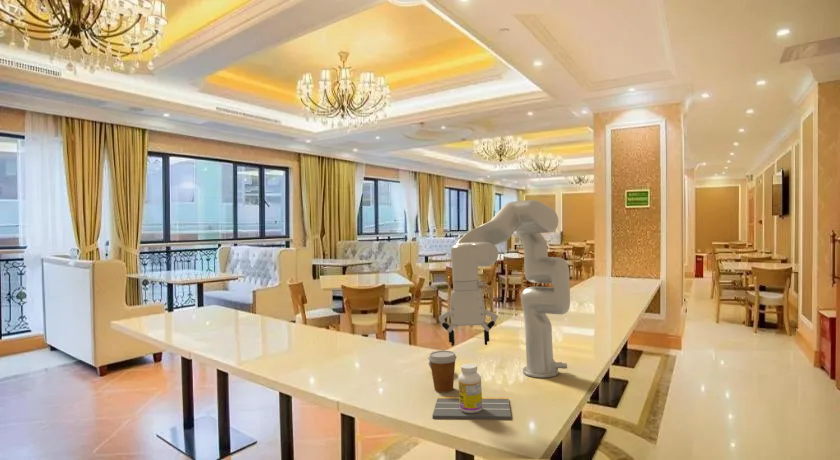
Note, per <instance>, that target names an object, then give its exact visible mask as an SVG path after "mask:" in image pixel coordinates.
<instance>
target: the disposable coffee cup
mask: <svg viewBox="0 0 840 460" xmlns="http://www.w3.org/2000/svg"><path fill="white" fill-rule="evenodd" d="M434 351H435V350H434ZM428 360H429V361H430V364H431V368H430V370H431V375H432V380H433V381H432V382H433V388H434V391H435V390H436V391H435V392H437V391H438V393H449V392H452V391H453V390H454V383H455V382H454V381H455V371H456V370H455V369H456V360H457V356H456V353H455V352H454V351H451V350H436V351H435V352H430V353H429V357H428ZM429 361H428V362H429ZM451 390H452V391H451ZM448 391H449V392H448Z"/></svg>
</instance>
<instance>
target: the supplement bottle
mask: <svg viewBox="0 0 840 460" xmlns="http://www.w3.org/2000/svg"><path fill="white" fill-rule="evenodd" d="M460 370H461V373H460V374H459V375H458V397H459V404H460V409H461V411H463V412H465V413H477V412H479V411H481V410H482V397H483V394H482V393H483V392H482V376H481V374H480V373H479V372H477V371H478V366H477V364H475V363H469V362H468V363H464V364H461V365H460Z"/></svg>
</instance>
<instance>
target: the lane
mask: <svg viewBox="0 0 840 460" xmlns="http://www.w3.org/2000/svg"><path fill="white" fill-rule="evenodd" d="M509 401H510V400H509V397H507V396H501V397H499V396H482V410H481V411H479V412H477V413H465V412H463V411H461V409H460V404H459V396H437V399H436V403H435V406H434V409H433V413H432V419H452V420H453V419H454V420H455V419H458V420H461V419H464V420H512V416H511V407H510V402H509Z"/></svg>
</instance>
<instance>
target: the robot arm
mask: <svg viewBox="0 0 840 460" xmlns="http://www.w3.org/2000/svg"><path fill="white" fill-rule="evenodd" d="M558 226H559V217H558V214H557V212H556V211H555V210H554V209H553V208H552V207H550V206H548V205H546V204H545V203H543V202H540V201H538V200H535V199H526V200H516V201H510V202H507V203H505V204H504V205H502V207H501V208H500V209H499V210H498V212H497V213H496V214H495V215H494V216H493V217H492V218H491V219H490V220H489V221H488V222H485V223H483V224H481V225H479V226H477V227H475V228H474V229H471V230H470V231H468V232H466V233H465V234H463V235H462V237H461V238H459V239H458V241H457V242H456V243H455V244H454V245H453V246H451V248H450V254H451V256H450V257H451V270H452V271H451V272H452V275H451V276H452V289H453V290H451V291H450V297H449V298H450V299H449V301H450V302H449V305H450V306H449V310H448V311H446V312H444V313H442V314H441V315H439V316H438V322H439V323H440V324H441V326H442V327H443V329H445V330H446V331H447V332H448V342H449V343H451V347H454V346H455V340H456V339H455V330H454V328H455V327H457V326H459V327H463V326H481V328H483V339H484V345H485V346H488V342H490V330H491V329H492V328H493V327H494V326H495V324H496V322H497V319H498V317H499V316H498V314H497V313H495V312H493V311H490V310H488V309H486V306H485V300H484V294H483V290H482V289H481V287H484V286H485V285H484V283H485V282H484V281H480V280H479V270H478V269H479V268H480V267H485V268H486V267H490V266H493V265H494V264H495V263H496V262H497V261H498V259H499V250H498V248H497V246H496V245H499V244H503V243H504V242H507V241H508V240H509V239H510V238H511V237H512V235H514V233H516V234H517V235H518V236H519V238H520V240H521V242H522V246H523V259H524V260H523V262H524V263H523V264H524V266H523V267H524V268H523V269H524V278H525V279H526V281H528V282H530V283H535V284H552V286H551V287H550V286H529V287H526V288H524V289H523V290H522V291H521V294H520V303H521V308H522V312H523V317H524V318H523V319H524V332H525V333H524V334H525V352H526V366H525V367H523V368H522V374H523V375H526V376H528V377H532V378H540V379H541V378H553V377H556V376H557V375H559V369H562V370H563V369H565V370H566V369H568V363H567V362H562V361H555V360H554V349H553V347H554V346H553V331H552V330H553V327H552V322H551V321H550V318H549V317H548V316H547V314H548V315H549V314H550V315H565V314H567V313H568V311H569V310H570V305H571V283H570V280H571V279H570V278H571V277H570V268H569V264H568V262H567V261H566V259H564V258H562V257H558V256H554V257H553V256H548V255H549V253H548V244H547V240H546V239H545V237H544V236H543V234H546V233H548V234H549V233H553V232H555V231H556V230H557V228H558ZM486 316H488V317H490V318H491V320H490V321H489V322H488V323H487V322H486ZM446 318H450V324H449V323H447V322H446V320H445V319H446Z"/></svg>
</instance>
